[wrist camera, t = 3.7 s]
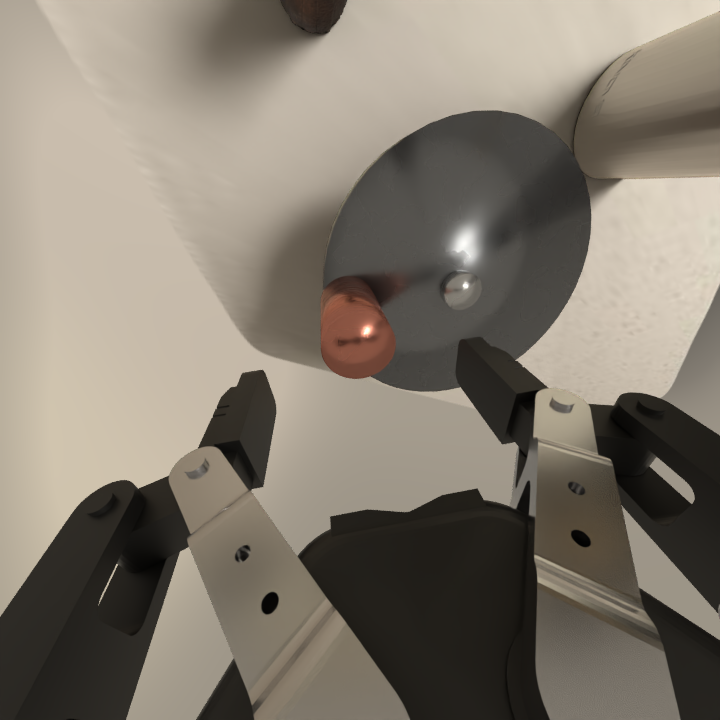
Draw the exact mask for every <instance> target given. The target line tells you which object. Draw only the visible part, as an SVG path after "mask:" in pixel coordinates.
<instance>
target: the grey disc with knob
mask: <svg viewBox="0 0 720 720" xmlns="http://www.w3.org/2000/svg"><path fill="white" fill-rule="evenodd" d="M590 232H591V207H590V197H589V193H588V189H587V185H586V180H585V178H584V175H583V173H582V171H581V168H580V166H579V164H578V161H577V160H576V158H575V157H574V155H573V154H572V152H571V151H570V149H569V148H568V146H567V145H566V144H565V143H564V142H563V141H562V140H561V139H560V138H559V137H558V136H557V135H556V134H555V133H554V132H552V131H551V130H549V129H548V128H546V127H545V126H543V125H542V124H540V123H539V122H537V121H534V120H532V119H529V118H527V117H524V116H522V115H519V114H514V113H508V112H503V111H472V112H467V113H462V114H457V115H452V116H449V117H446V118H444V119H441V120H438V121H436V122H433V123H430V124H428V125H426V126H424V127H423V128H421V129H419V130H417V131H415V132H414V133H412V134H410V135H408V136H406V137H405V138H403V139H401V140H400V141H398V142H397V143H396V144H394V145H393V146H392V147H390V148H389V149H388V150H386V151H385V152H384V153H382V154H381V155H380V156H379V157H378V158H377V159H376V160H375V161H374V162H373V163H372V164H371V165H370V166H369V167H368V168H367V169H366V170H365V171H364V173H363V174H362V175H361V177H360V178H359V179H358V181H357V182H356V183H355V184H354V186H353V187H352V188H351V190H350V192H349V193H348V195H347V197H346V199H345V200H344V202H343V204H342V205H341V207H340V209H339V212H338V214H337V216H336V219H335V221H334V223H333V226H332V229H331V232H330V236H329V239H328V243H327V246H326V253H325V259H324V272H323V288H324V291H323V293H322V296H321V352H322V357H323V359H324V362H325V363H326V365H327V366H328V367H329V368H330V369H331V370H332V371H333V372H335V373H336V374H338V375H340V376H343V377H346V378H352V379H359V378H366V377H369V376H371V377H373V378H375V379H377V380H379V381H381V382H382V383H385V384H388V385H390V386H393V387H396V388H401V389H405V390H411V391H442V390H449V389H454V388H459V387H460V385H459V384H458V382H457V379H456V373H455V370H456V361H457V353H458V344H459V341H460V340H461V339H467V338H473V337H482V338H483V339H484V340H485V341H486V342H487V343H488V344H489V345H490V346H492V347H493V346H495V347H497V348H499V349H501V350H503V351H506V352H507V353H508V354H510V355H511V356H512V357H513V358H514V359H515V360H516V359H518V358H519V357H520V356H521V355H523V354H524V353H525V352H526V351H527V350H529V349H530V348H531V347H532V346H533V345H534V344H535V343H536V342H537V341H538V340H539V339H540V338H541V337H542V336H543V335H544V334H545V333H546V331H547V330H548V329H549V328H550V327H551V325H552V324H553V323H554V321H555V320H556V319H557V318H558V316H559V315H560V313H561V312H562V310H563V308H564V307H565V305H566V304H567V302H568V300H569V298H570V296H571V295H572V293H573V291H574V289H575V287H576V284H577V282H578V279H579V277H580V274H581V272H582V269H583V266H584V262H585V259H586V255H587V252H588V246H589V240H590Z"/></svg>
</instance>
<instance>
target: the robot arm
mask: <svg viewBox="0 0 720 720" xmlns="http://www.w3.org/2000/svg"><path fill="white" fill-rule="evenodd" d="M574 155H575V158H576V160H577V161H578V164H579V166H580V168H581V170H582V172H584V173H585V174H586V175H588V176H590V177H593V178H596V179H601V178H623V179H650V178H691V177H720V11H719V12H717V13H714V14H712V15H710V16H707V17H705V18H703V19H701V20H698V21H696V22H694V23H691V24H689V25H687V26H684V27H682V28H680V29H677V30H675V31H673V32H671V33H668V34H666V35H664V36H662V37H659V38H657V39H655V40H652V41H650V42H648V43H646V44H643V45H641V46H639V47H637V48H635V49H633V50H631V51H629V52H627V53H625V54H624V55H622V56H621V57H620V58H619V59H617V60H616V61H615V62H613V63H612V65H611V66H610V67H609V68H608V69H607V70H606V71H605V72H604V73H603V74H602V75H601V77H600V78H599V79H598V81H597V82H596V84H595V85H594V86H593V88H592V89H591V91H590V93H589V95H588V97H587V98H586V100H585V102H584V104H583V107H582V109H581V112H580V114H579V117H578V121H577V125H576V129H575V135H574ZM455 373H456V379H457V382H458V384H459V385H460V387H461V388H462V390H463V391H464V392H465V394H466V395H467V396H468V398H469V399H470V401H471V402H472V403H473V405H474V406H475V408H476V409H477V410H478V412H479V413H480V414H481V416H482V417H483V419H484V420H485V421H486V423H487V424H488V425H489V427H490V428H491V430H492V431H493V432H494V434H495V435H496V436H497V438H498V439H499V441H500V442H501V443H502V444H507V443H512V442H516V444H517V445H518V446H519V447H518V450H517V453H516V462H515V471H514V480H513V489H512V490H513V491H512V497H511V502H510V506H507V505H504V504H501V503H497V502H492V501H486V500H483V498H482V496H481V495H480V493H479V491H478V489H472V490H467V491H462V492H457V493H452V494H446V495H442V496H440V497H438V498H436V499H434V500H432V501H430V502H428V503H426V504H424V505H422V506H421V507H418V508H417V509H414V510H412V511H410V512H393V511H392V512H391V511H380V510H379V511H378V510H363V511H357V512H352V513H347V514H342V515H336V516H331V517H330V519H331V529H330V530H328V531H326V532H324V533H322V534H321V535H320V536H318V537H317V538H315V539H314V540H313V541H312V542H311V543H309V544H308V545H307V546H306V547H305V548H304V549H303V550H302V551H301V552H300V554H299V555H298V556H297V555H296V554H295V552H294V551H293V550H292V548H291V547H290V545H289V544H288V543H287V541H286V540H285V539H284V537H283V536H282V534H281V533H280V532H279V530H278V529H277V527H276V526H275V524H274V523H273V522H272V520H271V519H270V517H269V516H268V514H267V513H266V512H265V510H264V509H263V508H262V506H261V505H260V503H259V502H258V500H257V499H256V498H255V496H254V495H253V493H252V492H251V490H252V489H254V488H260V487H263V485H264V479H265V474H266V468H267V462H268V457H269V451H270V445H271V439H272V434H273V429H274V423H275V417H276V404H275V399H274V396H273V394H272V391H271V388H270V385H269V382H268V380H267V377H266V374H265V372H264V371H263V370H258V371H251V372H245V373H242V375H241V377H240V380H239V382H238V385H237V387H231V388H230V389H229V390H228V391H227V392H226V393H225V394H224V395H223V396H222V397H221V399H220V401H219V403H218V405H217V409H216V410H215V412H214V414H213V418H212V419H211V421H210V423H209V425H208V427H207V430H206V432H205V434H204V437H203V438H202V441H201V443H200V445H199V447H198V449H196V450H194V451H192V452H190V453H188V454H187V455H185V456H184V457H183V458H181V459H180V460H179V461H178V462H177V463H176V464H175V466H174V467H173V469H172V470H171V472H170V475H169V476H167V477H165V478H163V479H160V480H158V481H155V482H153V483H151V484H148V485H146V486H144V487H141V488H139V489H138V488H137V487H136V486H135V485H134V484H133V483H132V482H130V481H127V480H121V481H116V482H112V483H110V484H107V485H105V486H103V487H102V488H100V489H98V490H97V491H95V492H94V493H92V494H90V495H89V496H88V497H87V498H86V499H85V500H83V501H82V502H81V503H80V504H79V505H78V506H77V508H76V509H75V510H74V512H73V513H72V514H71V516H70V517H69V519H68V520H67V521H66V523H65V524H64V526H63V527H62V529H61V530H60V531H59V533H58V534H57V536H56V537H55V539H54V540H53V542H52V543H51V544H50V546H49V547H48V549H47V550H46V552H45V553H44V555H43V556H42V558H41V559H40V560H39V562H38V563H37V565H36V566H35V568H34V569H33V570H32V572H31V573H30V575H29V576H28V578H27V579H26V581H25V582H24V584H23V585H22V586H21V588H20V589H19V591H18V592H17V594H16V595H15V596H14V598H13V599H12V601H11V602H10V604H9V605H8V607H7V608H6V609H5V611H4V613H3V614H2V615H1V617H0V720H126V717H127V714H128V711H129V708H130V705H131V702H132V699H133V696H134V693H135V690H136V686H137V683H138V680H139V677H140V674H141V671H142V668H143V664H144V662H145V658H146V655H147V652H148V649H149V646H150V643H151V640H152V637H153V634H154V630H155V627H156V624H157V621H158V618H159V615H160V612H161V609H162V606H163V603H164V599H165V596H166V593H167V590H168V587H169V584H170V581H171V578H172V575H173V572H174V568H175V565H176V562H177V559H178V556H179V552H180V551H182V550H184V549H186V548H187V547H189V548H190V550H191V553H192V555H193V557H194V560H195V562H196V565H197V567H198V570H199V572H200V575H201V577H202V580H203V582H204V585H205V587H206V590H207V592H208V595H209V597H210V600H211V602H212V605H213V607H214V609H215V612H216V615H217V617H218V619H219V622H220V625H221V627H222V630H223V632H224V634H225V637H226V639H227V642H228V644H229V647H230V649H231V652H232V654H233V657H234V659H233V660H232V662H231V664H230V665H229V667H228V669H227V670H226V672H225V674H224V675H223V677H222V678H221V680H220V681H219V683H218V685H217V686H216V688H215V690H214V691H213V693H212V695H211V696H210V698H209V700H208V701H207V703H206V704H205V706H204V708H203V709H202V711H201V713H200V714H199V716H198V717H197V719H196V720H720V640H718V639H717V638H715V637H714V636H712V635H711V634H709V633H708V632H706V631H705V630H703V629H702V628H700V627H699V626H697V625H695V624H694V623H692V622H691V621H689V620H688V619H686V618H685V617H683V616H682V615H680V614H679V613H677V612H676V611H674V610H673V609H671V608H669V607H668V606H666V605H665V604H663V603H662V602H660V601H659V600H657V599H656V598H654V597H653V596H651V595H650V594H648V593H646V592H645V591H643V590H642V589H640V588H639V587H638V582H637V577H636V572H635V567H634V563H633V558H632V553H631V548H630V544H629V539H628V534H627V530H626V525H625V520H624V515H623V511H622V506H623V507H624V508H625V510H626V511H627V512H628V513H629V514H630V515H631V516H632V517H633V518H634V520H635V521H636V522H637V523H638V524H639V525H640V526H641V527H642V529H643V530H644V531H645V532H646V533H647V534H648V535H649V536H650V538H651V539H652V540H653V541H654V542H655V543H656V544H657V545H658V547H659V548H660V549H661V550H662V551H663V552H664V553H665V554H666V555H667V556H668V558H669V559H670V560H671V561H672V562H673V563H674V564H675V566H676V567H677V568H678V569H679V570H680V571H681V572H682V573H683V575H684V576H685V577H686V578H687V579H688V580H689V581H690V582H691V583H692V585H693V586H694V587H695V588H696V589H697V590H698V591H699V592H700V594H701V595H702V596H703V597H704V598H705V599H706V600H707V601H708V602H709V604H710V605H711V606H712V607H713V608H714V609H715V610H716V612H717V613H718V614H719V618H720V436H719V435H718V434H717V433H715V432H713V431H712V430H710V429H709V428H707V427H706V426H704V425H703V424H701V423H700V422H698V421H697V420H695V419H693V418H692V417H690V416H689V415H687V414H686V413H684V412H683V411H681V410H680V409H678V408H677V407H675V406H674V405H672V404H670V403H669V402H667V401H665V400H662V399H660V398H657V397H654V396H651V395H647V394H643V393H624V394H622V395H620V396H619V398H618V399H617V401H616V403H615V405H614V406H612V405H596V404H588V403H587V402H586V401H585V400H584V399H583V398H581V397H580V396H578V395H576V394H574V393H572V392H569V391H566V390H562V389H557V388H548V387H547V386H545V385H544V384H543V383H542V382H541V381H540V380H538V379H537V378H536V377H535V376H534V375H533V374H532V373H530V372H529V371H528V370H527V369H526V368H525V367H522V365H521V364H520V363H519V362H518V361H515V359H514V358H513V357H512V356H511V355H510V354H508V353H507V352H506V351H503V350H501V349H499V348H497V347H495V346H493V347H492V346H490V345H489V344H488V343H487V342H486V341H485V340H484V339H483V338H482V337H473V338H467V339H461V340H460V341H459V344H458V353H457V361H456V370H455ZM656 457H658V458H659V459H660V460H662V461H663V462H664V463H665V464H666V465H667V466H668V467H670V468H671V469H672V470H673V471H674V472H676V473H677V474H678V475H679V476H680V477H682V478H683V479H684V480H685V481H686V482H687V483H688V484H689V485H690V487H691V488H692V490H693V492H694V495H695V500H694V502H693V504H691V503H690V502H688V501H687V500H686V499H685V498H684V497H683V496H682V495H681V494H680V493H678V492H677V491H676V490H675V489H674V488H673V487H672V486H671V485H669V484H668V483H667V482H666V481H665V480H664V479H663V478H662V477H660V476H659V475H658V474H657V473H656V472H655V471H654V470H653V469H652V468H650V467H649V466H650V465H651V463H652V462H653V461H654V459H655V458H656ZM621 505H622V506H621ZM116 564H118V566H117V568H116V570H115V572H114V575H113V577H112V579H111V581H110V583H109V585H108V587H107V589H106V592H105V593H104V596H103V598H102V600H101V602H100V604H99V601H100V598H101V595H102V593H103V591H104V589H105V587H106V585H107V583H108V581H109V578H110V576H111V574H112V572H113V570H114V568H115V566H116ZM98 604H99V606H98Z"/></svg>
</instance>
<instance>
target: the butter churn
mask: <svg viewBox="0 0 720 720" xmlns="http://www.w3.org/2000/svg"><path fill="white" fill-rule="evenodd" d="M346 2H347V0H281V3H282V5H283V7H284V9H285V10H286V12H287V13H288V14H289V16H290V19H291V20H292V22H293V23H294V24H295V25H298V26H299V27H301V28H302V29H303V30H306V31H307V32H310V33H311V32H312V33H324V32H326V33H327V32H329V31H330V28H331V26H332V24H335V23H336V22H337V21H338V20H339V19H340V15H342V13H343V9H344V7H345V5H346Z"/></svg>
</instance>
